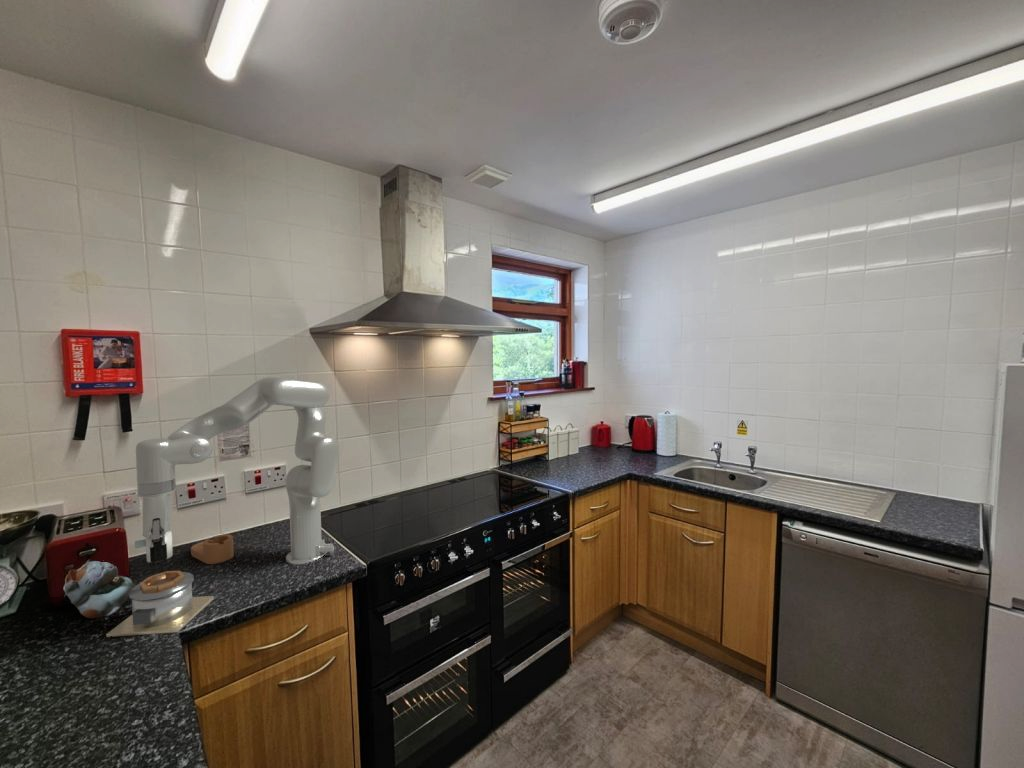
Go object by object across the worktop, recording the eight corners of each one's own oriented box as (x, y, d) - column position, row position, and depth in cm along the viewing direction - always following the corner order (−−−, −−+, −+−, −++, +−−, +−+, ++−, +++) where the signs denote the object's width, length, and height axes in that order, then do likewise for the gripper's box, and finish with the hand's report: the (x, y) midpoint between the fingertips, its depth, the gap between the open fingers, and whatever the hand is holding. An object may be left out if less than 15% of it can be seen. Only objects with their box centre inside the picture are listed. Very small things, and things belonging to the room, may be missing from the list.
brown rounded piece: (238, 557, 146) (237, 537, 145) (210, 567, 138) (209, 546, 138) (213, 545, 155) (213, 527, 155) (187, 554, 148) (186, 535, 148)
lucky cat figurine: (100, 624, 108) (91, 571, 107) (50, 629, 108) (41, 576, 107) (147, 591, 123) (140, 545, 122) (104, 595, 123) (96, 549, 122)
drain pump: (173, 551, 113) (172, 526, 113) (172, 558, 109) (171, 532, 109) (137, 558, 109) (136, 532, 109) (134, 566, 105) (133, 539, 105)
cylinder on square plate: (213, 599, 119) (212, 563, 119) (177, 634, 104) (175, 592, 104) (152, 603, 118) (150, 566, 117) (106, 638, 103) (103, 596, 102)
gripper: (141, 482, 114) (144, 548, 115) (132, 498, 100) (136, 574, 101) (177, 477, 118) (180, 541, 119) (173, 492, 104) (176, 565, 105)
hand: (159, 555), depth 110 cm, fingers closed on drain pump, 5 cm apart
